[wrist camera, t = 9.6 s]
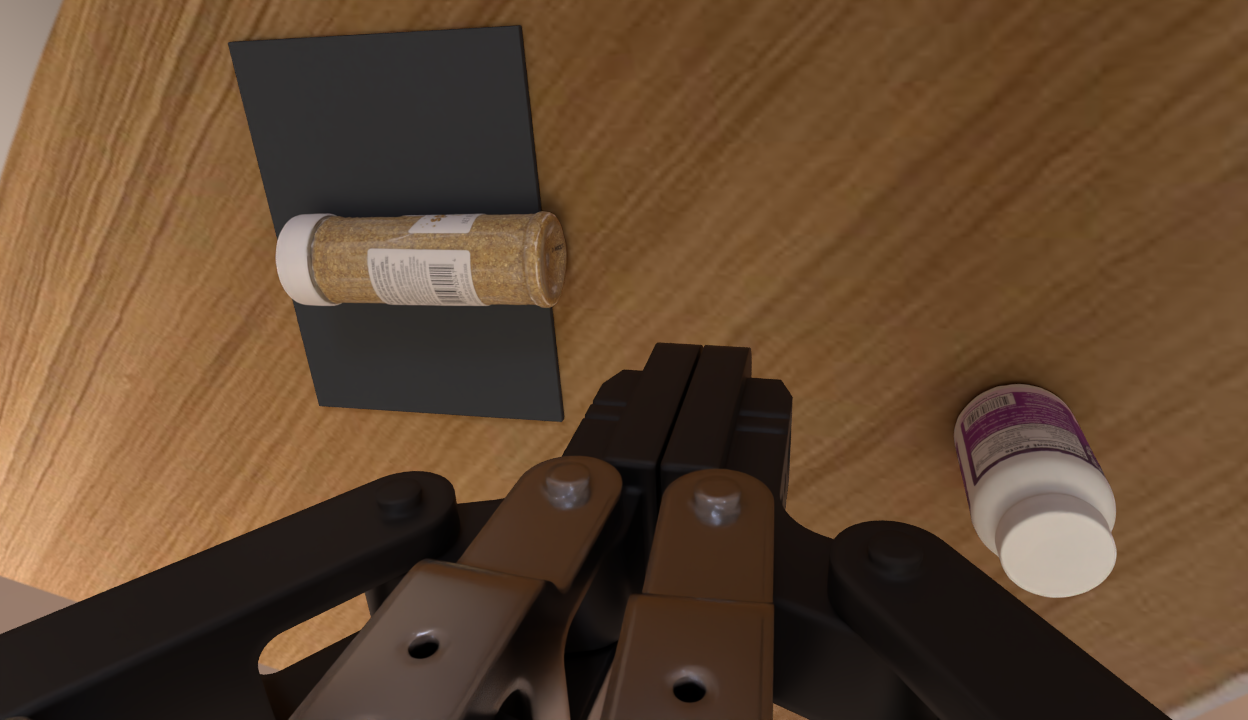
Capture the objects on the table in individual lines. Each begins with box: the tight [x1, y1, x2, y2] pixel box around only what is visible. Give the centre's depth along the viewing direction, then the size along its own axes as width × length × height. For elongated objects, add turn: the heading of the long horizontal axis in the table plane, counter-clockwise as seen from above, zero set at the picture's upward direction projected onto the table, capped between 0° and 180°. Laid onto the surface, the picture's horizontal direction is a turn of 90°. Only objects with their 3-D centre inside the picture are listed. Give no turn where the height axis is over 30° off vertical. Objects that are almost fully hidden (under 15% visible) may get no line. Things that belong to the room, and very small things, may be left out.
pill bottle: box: [954, 384, 1117, 598], centre depth 35 cm, size 5×5×10 cm
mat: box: [228, 25, 564, 422], centre depth 43 cm, size 20×15×1 cm
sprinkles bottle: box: [276, 211, 567, 308], centre depth 40 cm, size 5×5×14 cm
